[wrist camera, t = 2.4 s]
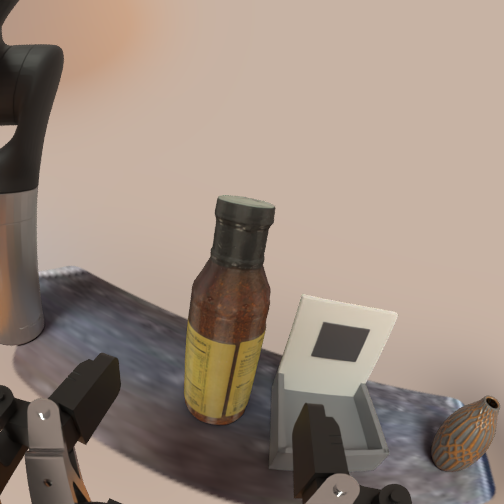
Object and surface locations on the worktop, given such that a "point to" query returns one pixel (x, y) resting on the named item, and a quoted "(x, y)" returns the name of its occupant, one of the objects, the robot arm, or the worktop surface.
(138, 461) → the worktop surface
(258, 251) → the sauce bottle
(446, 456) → the vase
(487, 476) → the worktop surface
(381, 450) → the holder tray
